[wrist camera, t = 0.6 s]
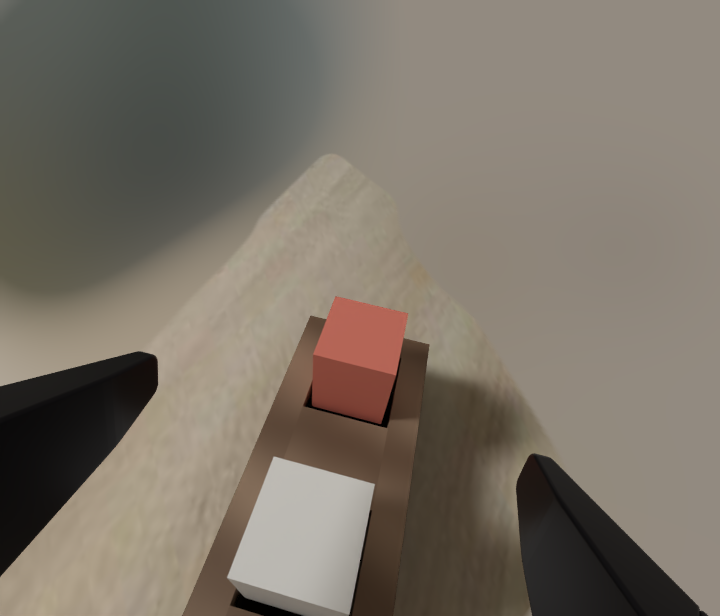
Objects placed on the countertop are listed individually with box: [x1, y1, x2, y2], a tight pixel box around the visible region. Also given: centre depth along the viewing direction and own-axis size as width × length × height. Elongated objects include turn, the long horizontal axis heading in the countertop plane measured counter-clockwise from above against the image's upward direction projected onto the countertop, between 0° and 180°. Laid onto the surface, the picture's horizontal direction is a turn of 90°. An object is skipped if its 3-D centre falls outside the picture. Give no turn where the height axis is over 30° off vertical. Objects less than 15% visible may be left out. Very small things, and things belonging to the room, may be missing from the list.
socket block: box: [182, 316, 429, 616], centre depth 22 cm, size 17×8×5 cm, turn 167°
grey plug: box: [227, 457, 375, 616], centre depth 15 cm, size 4×4×5 cm
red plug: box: [312, 296, 408, 424], centre depth 21 cm, size 4×4×5 cm
